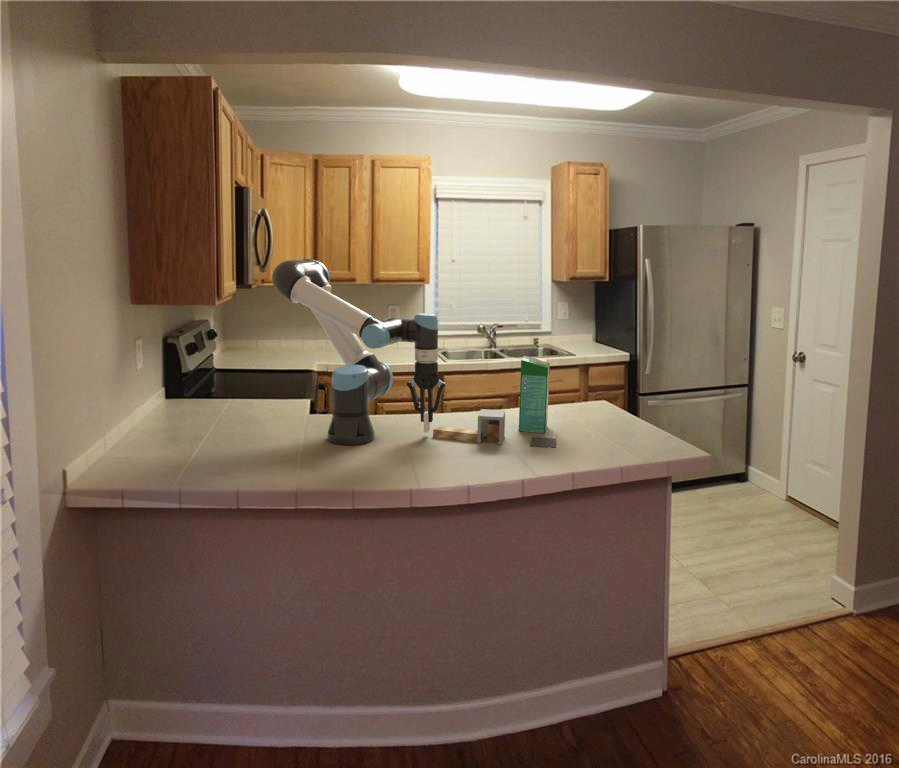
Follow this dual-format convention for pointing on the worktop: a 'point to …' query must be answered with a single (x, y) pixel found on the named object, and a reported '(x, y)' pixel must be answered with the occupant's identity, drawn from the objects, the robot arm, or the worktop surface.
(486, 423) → the tunnel
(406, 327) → the robot arm
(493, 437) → the block
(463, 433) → the tan long bar
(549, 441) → the mat
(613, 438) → the worktop surface
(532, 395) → the milk carton
